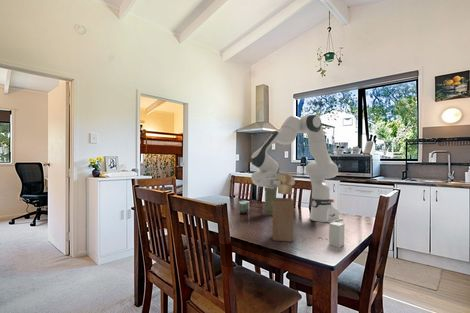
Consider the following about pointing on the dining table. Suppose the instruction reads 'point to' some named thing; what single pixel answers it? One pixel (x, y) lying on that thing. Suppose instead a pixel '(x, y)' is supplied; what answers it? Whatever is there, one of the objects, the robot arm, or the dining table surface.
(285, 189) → the oak block
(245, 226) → the dining table surface
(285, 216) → the block
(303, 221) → the dining table surface
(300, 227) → the dining table surface
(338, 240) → the grey block
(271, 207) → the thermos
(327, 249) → the dining table surface
